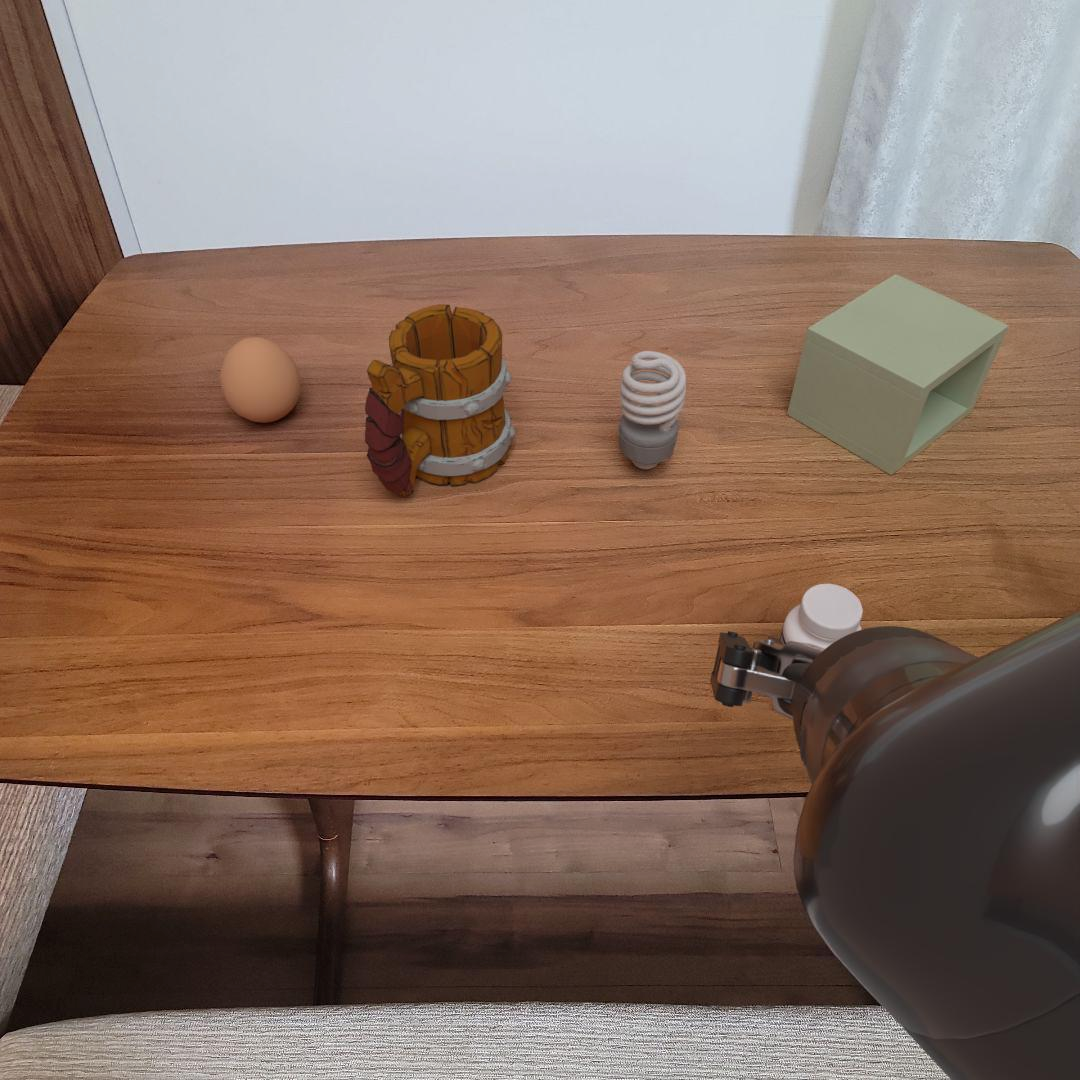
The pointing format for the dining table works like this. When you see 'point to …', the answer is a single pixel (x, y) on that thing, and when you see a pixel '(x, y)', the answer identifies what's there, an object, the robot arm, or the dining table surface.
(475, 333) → the mug
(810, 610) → the pill bottle
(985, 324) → the shelf
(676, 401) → the light bulb
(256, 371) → the egg
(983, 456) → the dining table surface
